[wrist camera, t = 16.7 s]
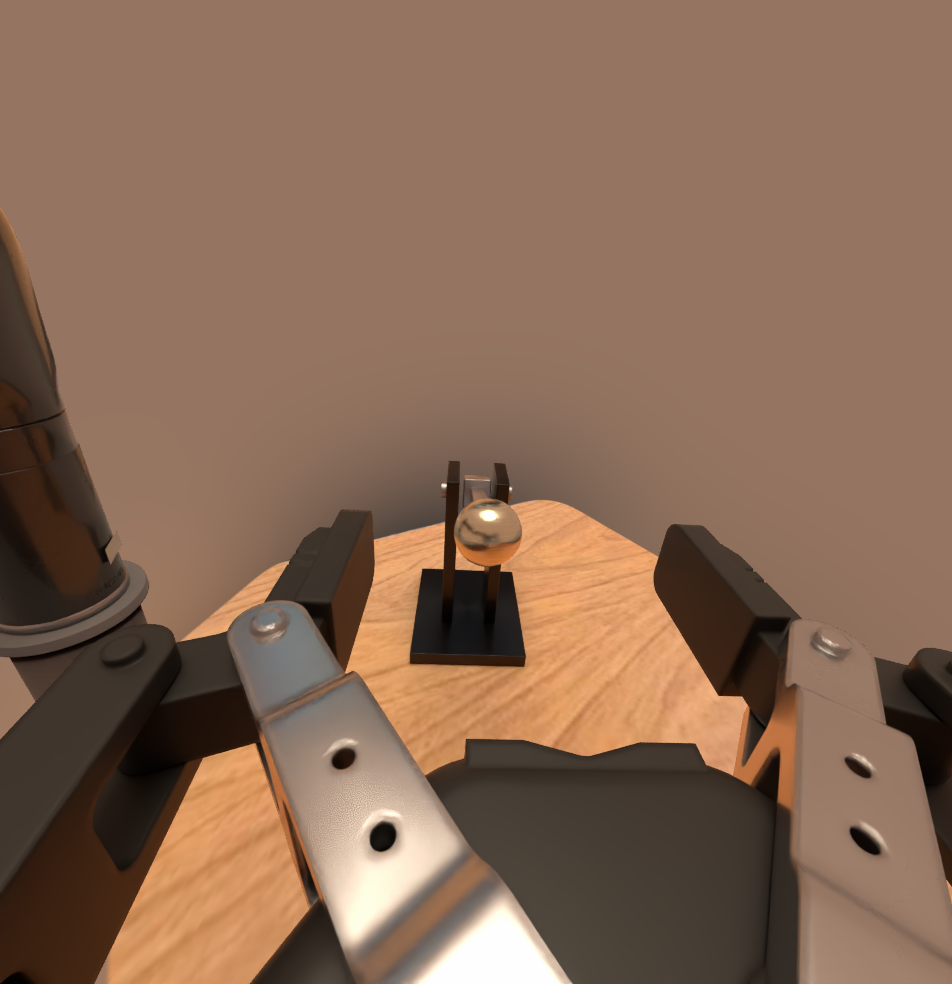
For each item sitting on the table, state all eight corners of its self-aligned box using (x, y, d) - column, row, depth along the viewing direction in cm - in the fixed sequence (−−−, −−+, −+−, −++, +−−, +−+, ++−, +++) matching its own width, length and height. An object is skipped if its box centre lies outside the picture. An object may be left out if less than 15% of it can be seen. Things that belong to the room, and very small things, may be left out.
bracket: (524, 666, 38) (549, 509, 31) (410, 663, 37) (409, 503, 30) (511, 580, 48) (527, 449, 41) (422, 577, 48) (423, 444, 41)
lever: (524, 578, 21) (529, 507, 21) (452, 575, 21) (455, 503, 20) (494, 509, 38) (497, 469, 38) (454, 507, 38) (456, 467, 37)
